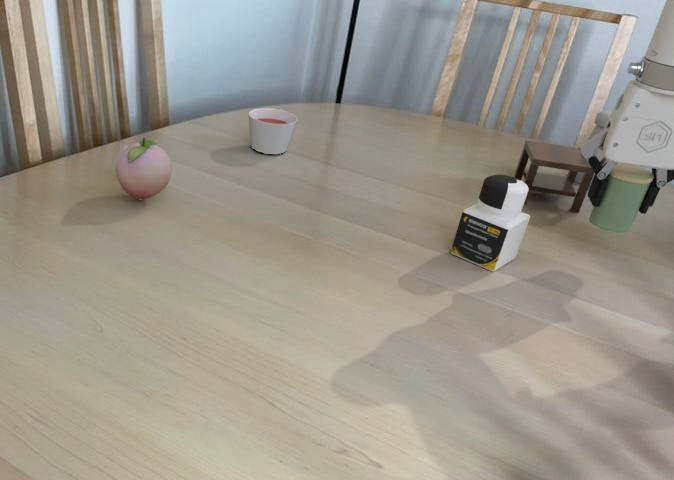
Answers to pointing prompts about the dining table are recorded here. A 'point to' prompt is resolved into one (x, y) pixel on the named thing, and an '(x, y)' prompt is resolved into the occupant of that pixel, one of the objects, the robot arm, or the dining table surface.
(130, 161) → the decorative fruit
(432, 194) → the dining table surface
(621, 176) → the tea tin
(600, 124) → the salt shaker
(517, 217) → the medicine bottle
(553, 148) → the stand
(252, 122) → the candle
